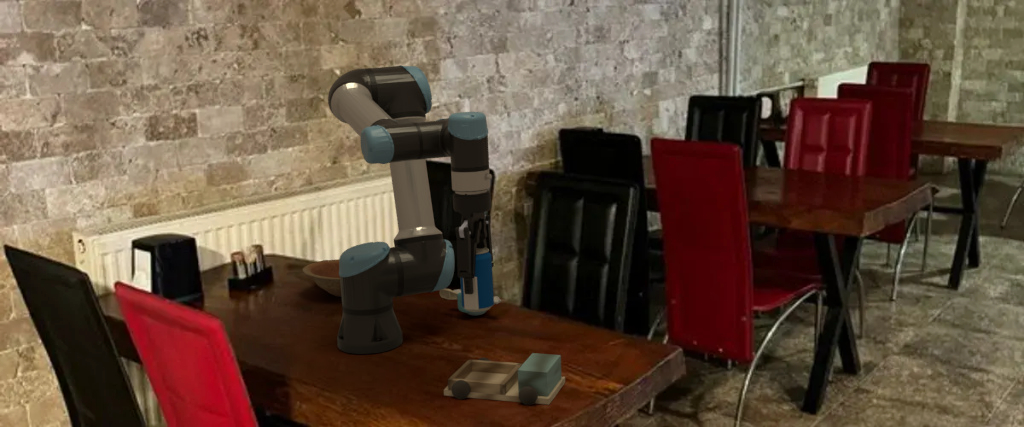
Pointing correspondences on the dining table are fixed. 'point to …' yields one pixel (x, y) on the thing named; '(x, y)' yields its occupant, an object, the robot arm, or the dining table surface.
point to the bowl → (325, 275)
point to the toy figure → (457, 296)
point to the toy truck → (509, 380)
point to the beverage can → (482, 280)
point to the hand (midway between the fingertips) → (477, 303)
